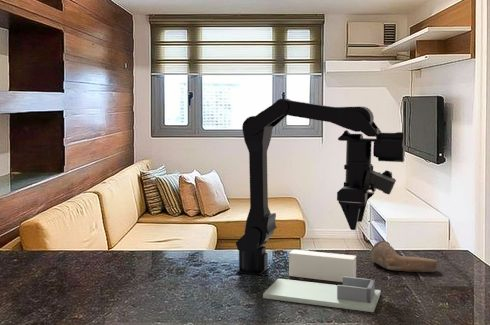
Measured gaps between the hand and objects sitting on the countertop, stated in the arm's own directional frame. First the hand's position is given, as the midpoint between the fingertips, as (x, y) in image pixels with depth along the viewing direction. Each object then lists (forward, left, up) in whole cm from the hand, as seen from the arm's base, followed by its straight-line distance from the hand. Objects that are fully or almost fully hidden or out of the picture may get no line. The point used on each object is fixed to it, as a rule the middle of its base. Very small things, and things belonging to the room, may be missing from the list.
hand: (356, 225), depth 127 cm
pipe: (+10, +16, -14) cm, 23 cm away
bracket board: (-5, -12, -14) cm, 19 cm away
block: (-8, +1, -14) cm, 16 cm away
